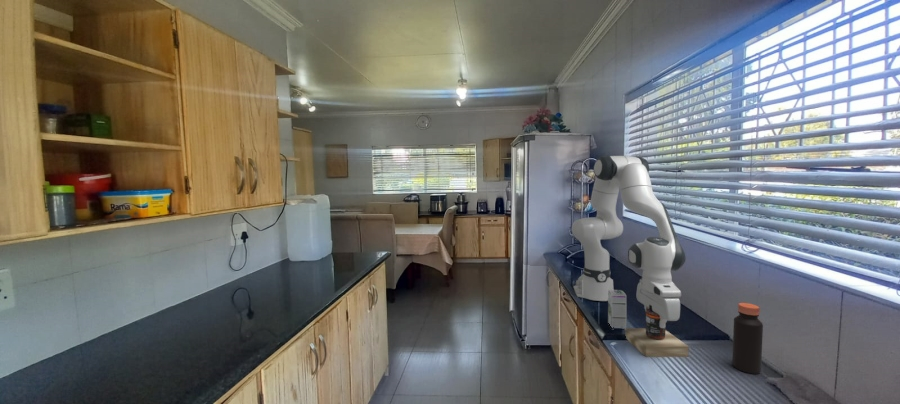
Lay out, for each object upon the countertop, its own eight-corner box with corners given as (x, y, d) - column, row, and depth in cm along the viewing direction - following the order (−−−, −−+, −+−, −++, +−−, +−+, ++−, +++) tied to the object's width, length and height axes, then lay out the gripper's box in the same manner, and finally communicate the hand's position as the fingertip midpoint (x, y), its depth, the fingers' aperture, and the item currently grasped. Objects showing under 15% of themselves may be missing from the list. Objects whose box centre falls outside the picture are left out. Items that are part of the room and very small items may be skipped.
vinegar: (730, 360, 110) (732, 300, 109) (757, 366, 107) (760, 303, 106) (734, 370, 104) (736, 307, 103) (763, 376, 101) (766, 311, 100)
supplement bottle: (662, 333, 122) (663, 302, 121) (667, 341, 116) (668, 308, 115) (644, 331, 124) (644, 301, 123) (647, 338, 118) (648, 306, 118)
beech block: (625, 338, 127) (625, 328, 127) (662, 338, 127) (663, 328, 127) (646, 358, 113) (646, 346, 113) (688, 358, 113) (688, 346, 113)
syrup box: (627, 330, 133) (627, 294, 132) (610, 329, 134) (611, 293, 133) (622, 324, 138) (623, 289, 138) (607, 323, 140) (607, 289, 139)
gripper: (632, 276, 129) (631, 311, 130) (664, 294, 109) (663, 335, 110) (648, 275, 129) (648, 311, 130) (684, 293, 109) (683, 335, 110)
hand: (655, 322), depth 120 cm, fingers closed on supplement bottle, 6 cm apart
